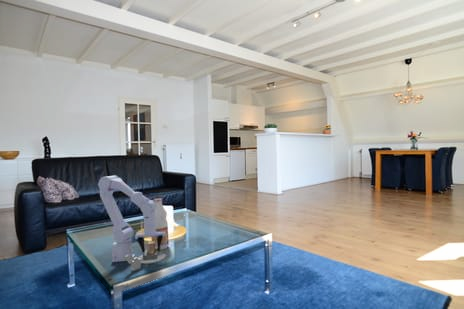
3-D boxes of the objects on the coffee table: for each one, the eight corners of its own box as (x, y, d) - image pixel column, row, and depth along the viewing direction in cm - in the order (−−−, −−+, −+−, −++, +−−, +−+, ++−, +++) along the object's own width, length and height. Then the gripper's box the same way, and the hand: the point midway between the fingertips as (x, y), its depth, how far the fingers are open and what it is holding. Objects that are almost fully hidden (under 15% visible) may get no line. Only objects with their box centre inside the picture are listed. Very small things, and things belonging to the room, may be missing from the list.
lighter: (138, 267, 132) (137, 250, 132) (141, 267, 131) (140, 250, 131) (125, 272, 126) (124, 255, 126) (127, 273, 125) (126, 255, 125)
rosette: (134, 265, 135) (133, 258, 135) (140, 255, 149) (140, 248, 149) (163, 262, 136) (163, 255, 136) (167, 252, 150) (166, 246, 150)
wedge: (147, 258, 140) (146, 245, 140) (149, 255, 145) (148, 242, 145) (153, 258, 140) (152, 244, 140) (155, 254, 145) (154, 241, 145)
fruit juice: (148, 249, 158) (145, 200, 158) (161, 244, 166) (158, 197, 166) (159, 251, 153) (156, 200, 153) (172, 246, 161) (169, 198, 161)
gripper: (133, 227, 138) (134, 255, 138) (163, 225, 139) (164, 252, 139) (136, 224, 145) (138, 250, 145) (164, 222, 146) (166, 248, 146)
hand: (151, 251), depth 142 cm, fingers open, 7 cm apart
